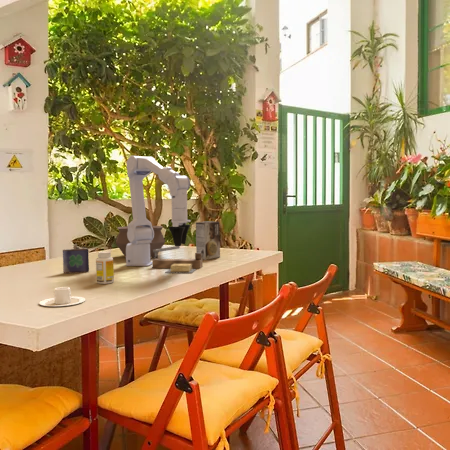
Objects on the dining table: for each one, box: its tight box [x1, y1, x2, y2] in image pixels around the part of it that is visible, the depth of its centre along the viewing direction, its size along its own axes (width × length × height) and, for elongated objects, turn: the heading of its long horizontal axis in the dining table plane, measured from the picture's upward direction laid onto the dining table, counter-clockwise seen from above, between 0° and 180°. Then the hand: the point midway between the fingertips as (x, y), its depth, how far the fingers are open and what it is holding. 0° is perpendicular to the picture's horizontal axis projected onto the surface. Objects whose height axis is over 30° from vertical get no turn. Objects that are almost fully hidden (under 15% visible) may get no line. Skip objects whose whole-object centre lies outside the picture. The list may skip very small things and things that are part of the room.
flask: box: [62, 243, 90, 274], centre depth 186 cm, size 9×3×11 cm, turn 109°
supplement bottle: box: [95, 250, 115, 285], centre depth 163 cm, size 6×6×10 cm
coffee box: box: [195, 220, 221, 260], centre depth 221 cm, size 9×6×16 cm
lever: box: [153, 245, 181, 259], centre depth 201 cm, size 15×2×4 cm, turn 147°
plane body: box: [151, 252, 204, 269], centre depth 195 cm, size 19×4×6 cm, turn 82°
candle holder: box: [38, 286, 86, 307], centre depth 135 cm, size 12×12×4 cm
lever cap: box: [170, 264, 193, 272], centre depth 185 cm, size 7×5×2 cm
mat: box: [164, 268, 197, 274], centre depth 185 cm, size 10×8×1 cm
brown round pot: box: [115, 225, 166, 259], centre depth 228 cm, size 24×24×16 cm
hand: (180, 244), depth 184 cm, fingers open, 7 cm apart
